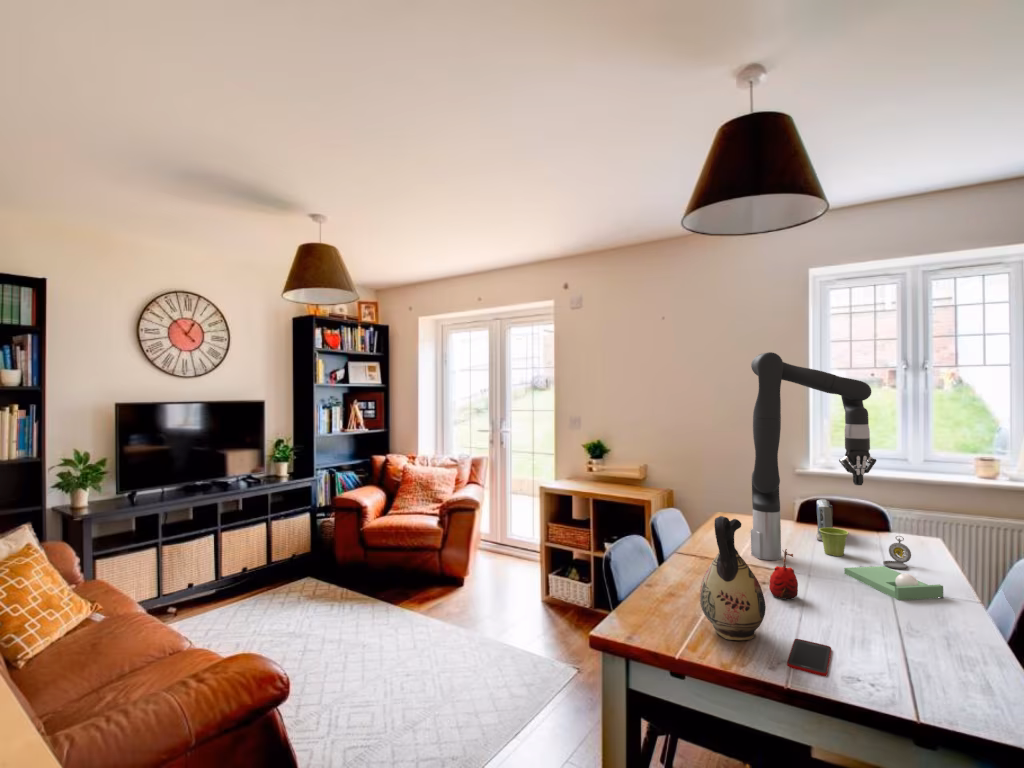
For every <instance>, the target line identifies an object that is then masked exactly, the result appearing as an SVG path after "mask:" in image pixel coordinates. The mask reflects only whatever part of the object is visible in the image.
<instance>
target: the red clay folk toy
mask: <svg viewBox="0 0 1024 768" xmlns="http://www.w3.org/2000/svg"><path fill="white" fill-rule="evenodd" d="M782 552H783V553H784V554H783V555H784V557H783V558H784V559H782V561H783V565H782V566H777V565H776V566H775V567H774V570H773V571H772V573H771V575H770V577H769V584H768V587H769V590H770V593H771V594H772V595H773V596H774V597H776V599H777V598H778V599H781V600H787V601H788V600H789V601H790V600H794V599H796V597H797V596H798V594H799V593H798V592H799V589H798V588H799V587H798V586H799V583H798V582H799V581H798V578H797V575H796V574H795V571H794V568H792V567H787V565H786V562H787V560H786V559H787V556H790V557H792V558H794V554H793V553H791V554H790V553H788V552H787V548H785V550H782Z"/></svg>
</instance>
